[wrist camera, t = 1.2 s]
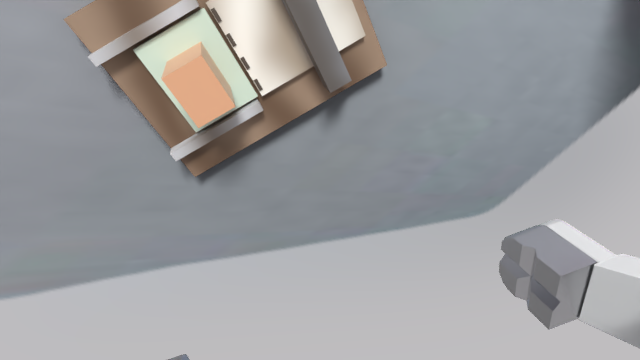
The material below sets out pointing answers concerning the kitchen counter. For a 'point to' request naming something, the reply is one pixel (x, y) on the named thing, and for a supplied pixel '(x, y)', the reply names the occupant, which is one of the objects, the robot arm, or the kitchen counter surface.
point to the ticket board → (251, 54)
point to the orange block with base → (197, 70)
